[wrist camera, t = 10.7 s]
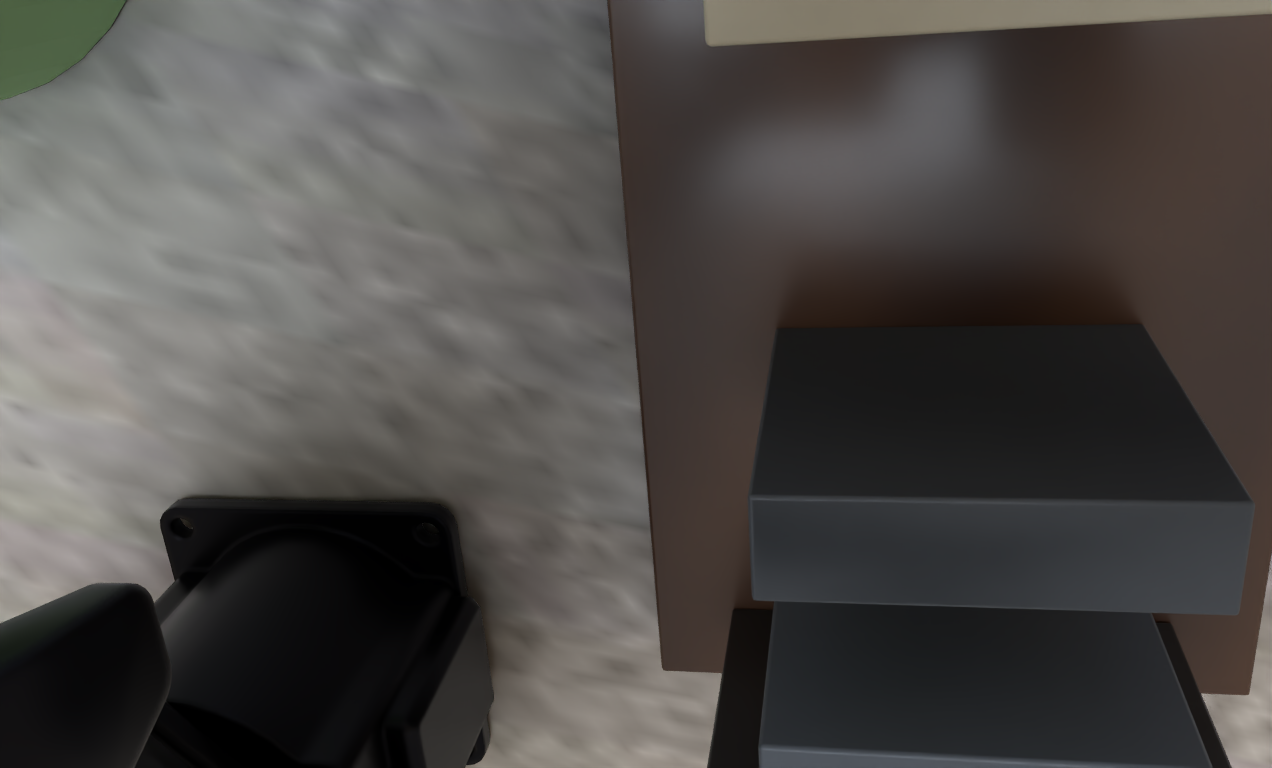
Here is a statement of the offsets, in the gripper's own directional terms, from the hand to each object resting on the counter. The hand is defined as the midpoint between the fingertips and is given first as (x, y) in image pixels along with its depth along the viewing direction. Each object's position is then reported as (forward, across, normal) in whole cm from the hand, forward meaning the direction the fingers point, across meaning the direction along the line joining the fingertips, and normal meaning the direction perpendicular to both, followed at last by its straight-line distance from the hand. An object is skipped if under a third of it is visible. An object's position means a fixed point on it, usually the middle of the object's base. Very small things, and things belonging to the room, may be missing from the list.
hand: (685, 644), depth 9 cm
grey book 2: (+12, -3, +3) cm, 12 cm away
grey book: (+12, -3, +7) cm, 14 cm away
